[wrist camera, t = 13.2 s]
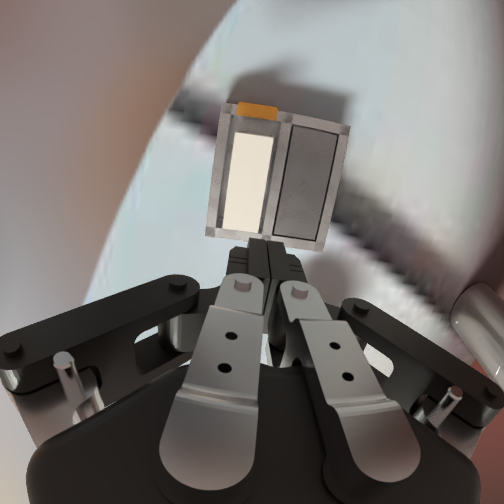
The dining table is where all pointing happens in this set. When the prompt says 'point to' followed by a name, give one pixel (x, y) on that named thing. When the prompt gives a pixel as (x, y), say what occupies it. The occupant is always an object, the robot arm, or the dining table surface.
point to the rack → (282, 174)
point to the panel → (247, 181)
